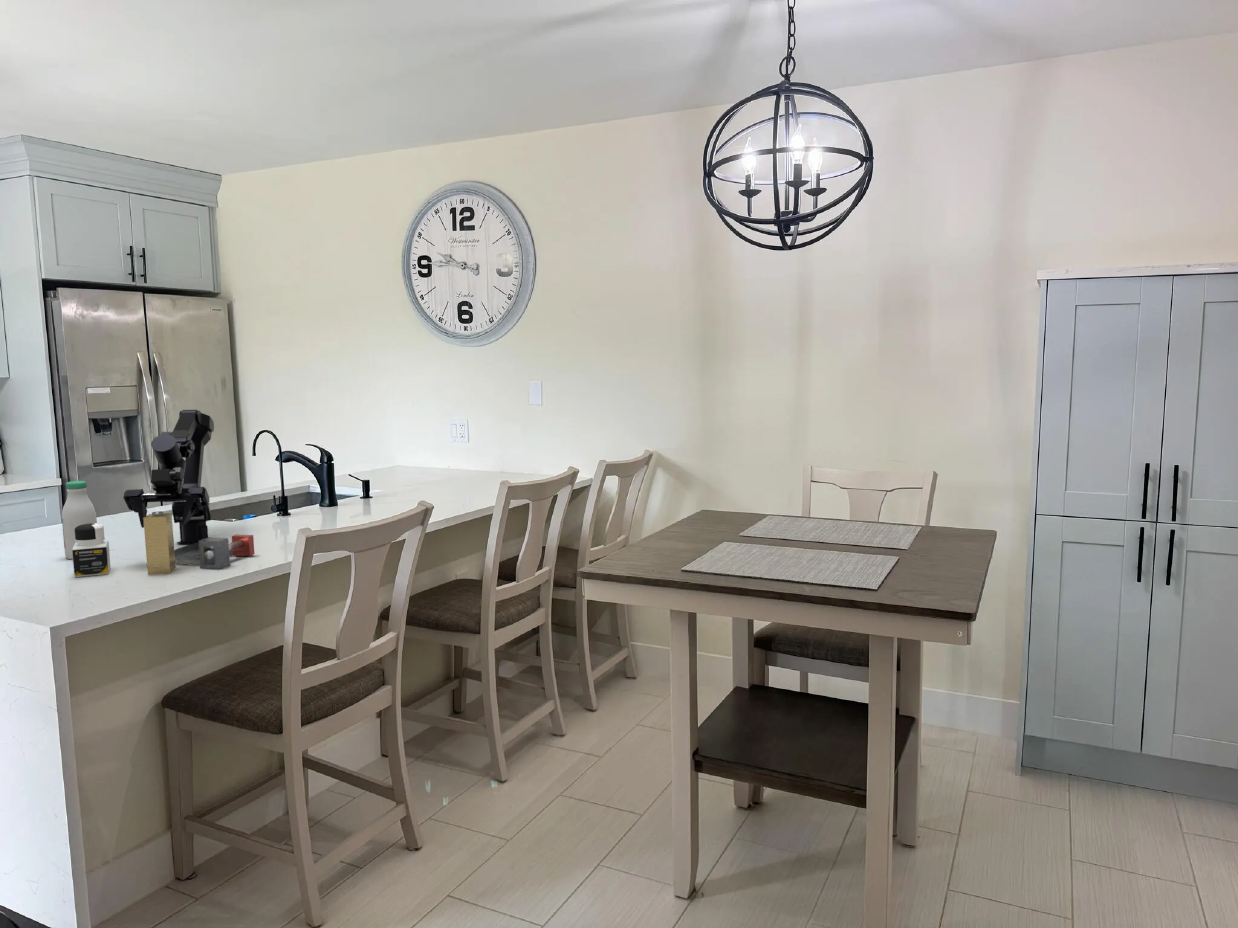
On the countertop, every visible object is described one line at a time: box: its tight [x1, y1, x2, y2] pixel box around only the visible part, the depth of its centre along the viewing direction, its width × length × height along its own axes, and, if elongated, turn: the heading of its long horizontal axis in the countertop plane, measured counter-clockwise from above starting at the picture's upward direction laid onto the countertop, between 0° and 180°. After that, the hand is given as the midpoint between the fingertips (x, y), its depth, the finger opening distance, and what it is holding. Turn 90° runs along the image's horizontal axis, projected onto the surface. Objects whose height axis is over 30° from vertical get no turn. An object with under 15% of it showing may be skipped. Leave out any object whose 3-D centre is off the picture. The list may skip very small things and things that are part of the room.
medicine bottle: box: [72, 522, 111, 578], centre depth 208 cm, size 7×7×12 cm
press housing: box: [199, 536, 231, 570], centre depth 214 cm, size 6×4×7 cm
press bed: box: [174, 543, 234, 566], centre depth 222 cm, size 12×12×3 cm
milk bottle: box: [61, 480, 98, 560], centre depth 224 cm, size 8×8×20 cm
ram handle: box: [204, 534, 255, 559], centre depth 219 cm, size 5×15×5 cm, turn 169°
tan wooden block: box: [143, 511, 177, 576], centre depth 209 cm, size 5×5×15 cm
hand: (162, 525), depth 212 cm, fingers open, 9 cm apart
